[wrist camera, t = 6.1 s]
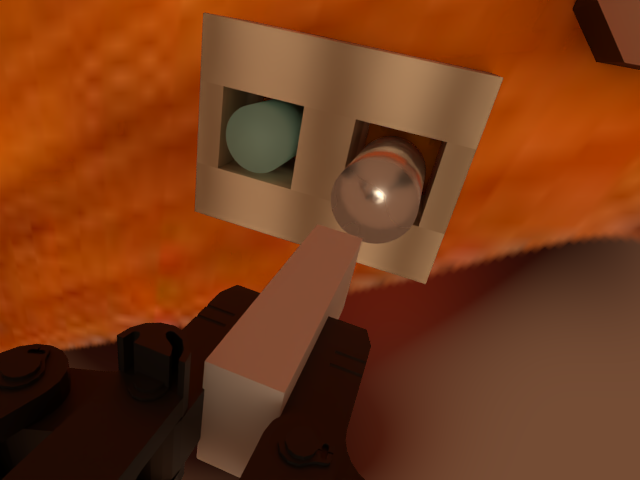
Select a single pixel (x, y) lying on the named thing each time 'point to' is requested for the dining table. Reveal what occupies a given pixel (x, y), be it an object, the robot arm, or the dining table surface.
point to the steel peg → (380, 190)
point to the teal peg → (264, 134)
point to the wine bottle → (611, 30)
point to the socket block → (332, 131)
